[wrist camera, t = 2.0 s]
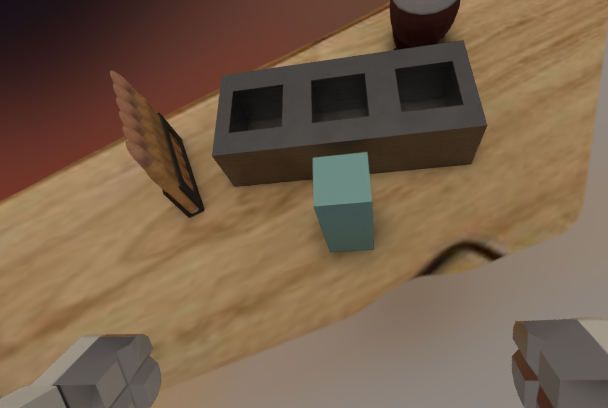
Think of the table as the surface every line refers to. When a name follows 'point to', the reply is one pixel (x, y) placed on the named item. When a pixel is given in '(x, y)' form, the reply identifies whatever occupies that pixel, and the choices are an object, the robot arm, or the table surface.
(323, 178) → the square peg
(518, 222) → the table surface
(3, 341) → the table surface
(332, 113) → the block with square holes
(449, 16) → the mate gourd
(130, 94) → the ammunition clip
